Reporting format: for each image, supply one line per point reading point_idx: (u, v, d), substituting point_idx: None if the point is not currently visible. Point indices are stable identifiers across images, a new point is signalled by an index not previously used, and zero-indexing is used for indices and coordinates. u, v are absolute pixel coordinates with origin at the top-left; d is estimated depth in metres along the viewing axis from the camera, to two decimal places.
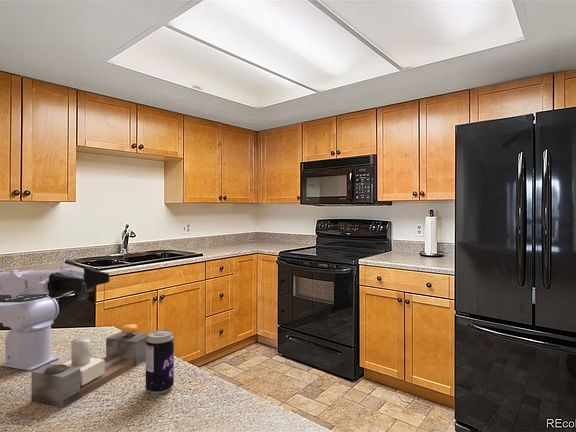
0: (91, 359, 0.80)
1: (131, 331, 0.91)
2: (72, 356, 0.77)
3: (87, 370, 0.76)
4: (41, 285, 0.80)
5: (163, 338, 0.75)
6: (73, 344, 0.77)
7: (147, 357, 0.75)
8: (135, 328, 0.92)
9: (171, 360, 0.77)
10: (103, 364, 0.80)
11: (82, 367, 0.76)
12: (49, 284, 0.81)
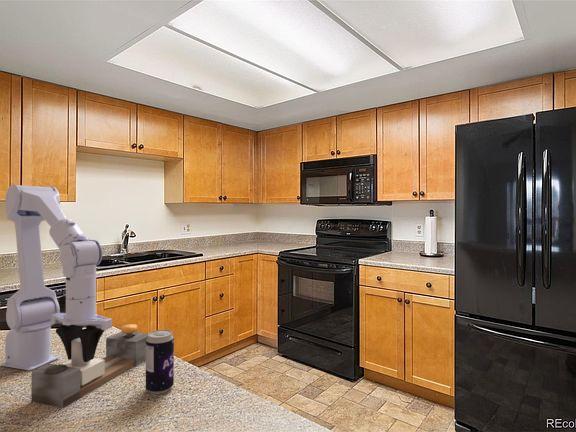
0: None
1: (131, 331, 0.91)
2: (72, 356, 0.77)
3: (87, 370, 0.76)
4: None
5: (163, 338, 0.75)
6: (73, 344, 0.77)
7: (147, 357, 0.75)
8: (135, 328, 0.92)
9: (171, 360, 0.77)
10: (103, 364, 0.80)
11: (82, 367, 0.76)
12: None
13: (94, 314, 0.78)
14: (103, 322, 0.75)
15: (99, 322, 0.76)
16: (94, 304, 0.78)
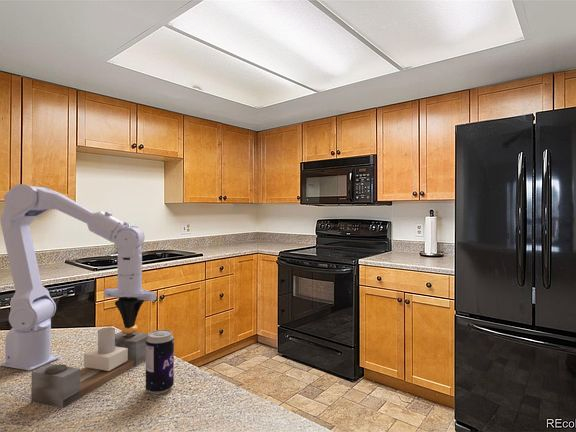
0: (115, 347, 0.87)
1: (131, 331, 0.91)
2: (99, 344, 0.84)
3: (113, 357, 0.83)
4: None
5: (163, 338, 0.75)
6: (100, 333, 0.84)
7: (147, 357, 0.75)
8: (135, 328, 0.92)
9: (171, 360, 0.77)
10: (126, 352, 0.87)
11: (108, 354, 0.83)
12: None
13: (140, 289, 0.93)
14: (150, 295, 0.90)
15: (146, 295, 0.90)
16: (140, 280, 0.93)
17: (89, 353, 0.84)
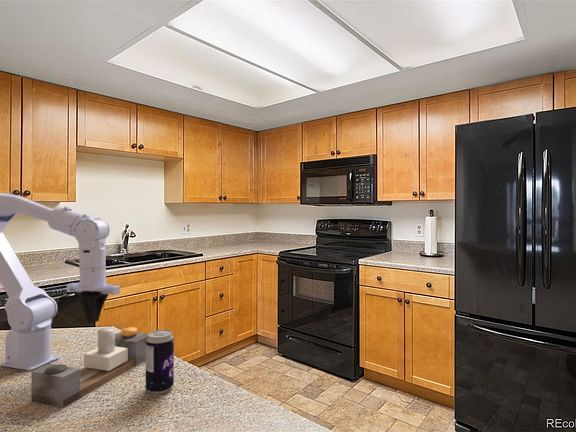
0: (115, 347, 0.87)
1: (131, 334, 0.91)
2: (99, 344, 0.84)
3: (113, 357, 0.83)
4: None
5: (163, 338, 0.75)
6: (100, 333, 0.84)
7: (147, 357, 0.75)
8: (135, 331, 0.93)
9: (171, 360, 0.77)
10: (126, 352, 0.87)
11: (108, 354, 0.83)
12: None
13: (104, 282, 0.90)
14: (112, 288, 0.87)
15: (109, 288, 0.87)
16: (104, 274, 0.90)
17: (89, 353, 0.84)
